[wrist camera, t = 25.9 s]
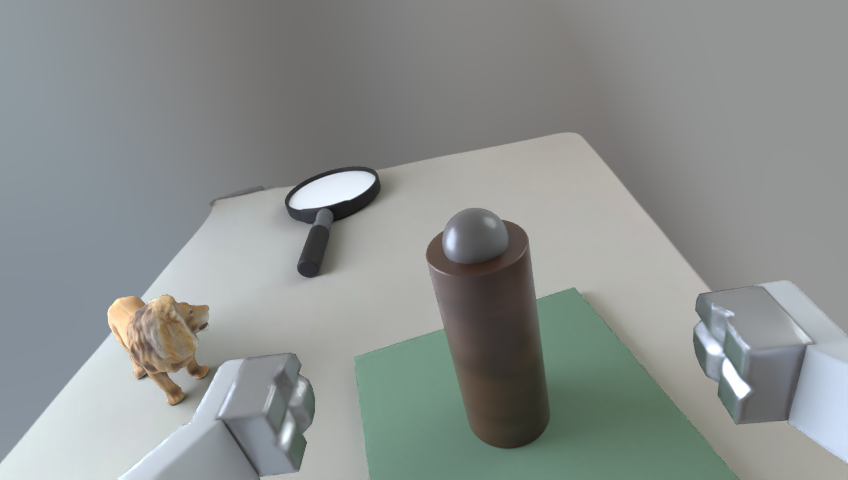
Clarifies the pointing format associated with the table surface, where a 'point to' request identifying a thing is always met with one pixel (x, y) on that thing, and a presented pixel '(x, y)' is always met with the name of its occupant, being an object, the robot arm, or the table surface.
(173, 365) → the lion figurine
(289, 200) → the magnifying glass
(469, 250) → the pepper mill
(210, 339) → the table surface
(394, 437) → the mat
